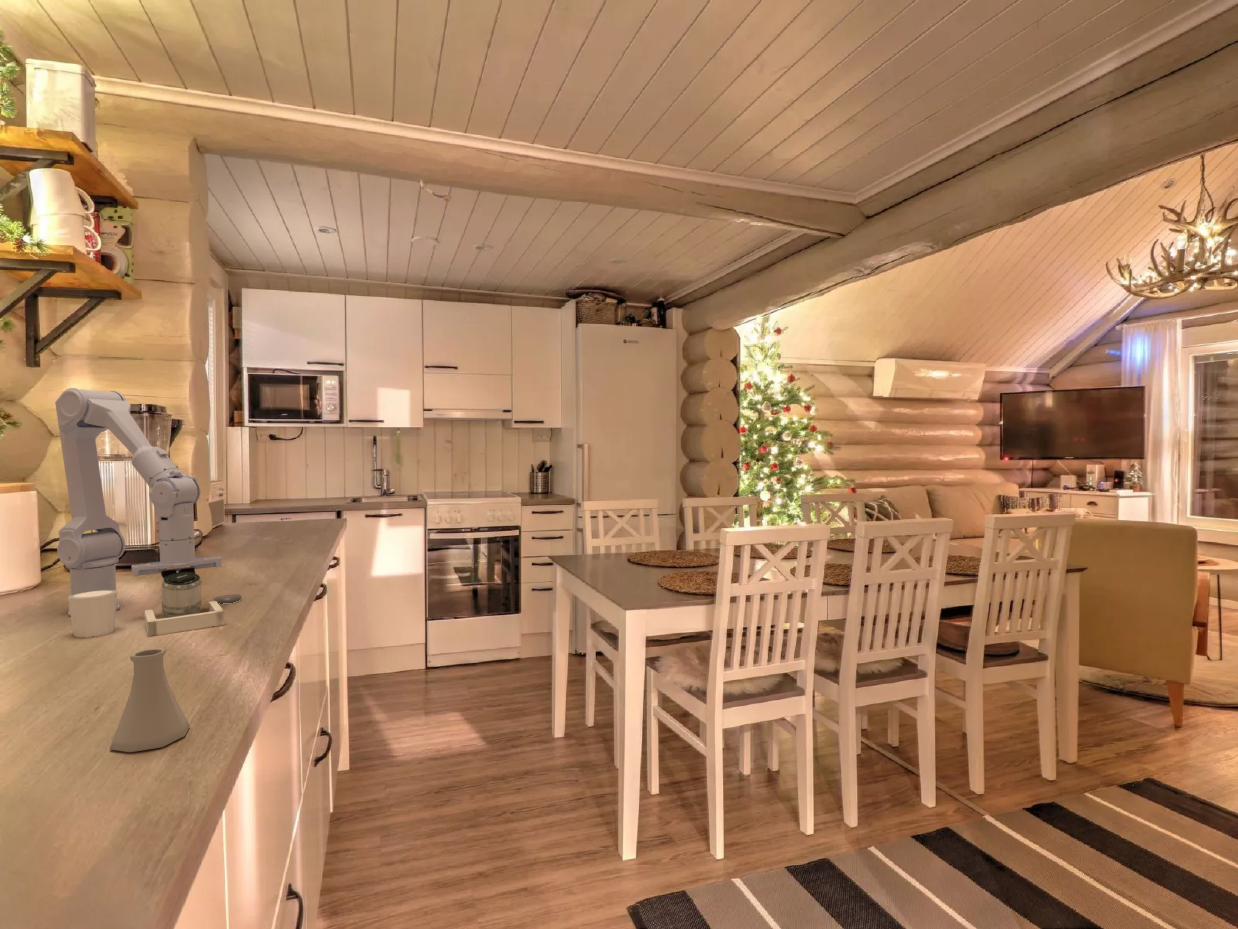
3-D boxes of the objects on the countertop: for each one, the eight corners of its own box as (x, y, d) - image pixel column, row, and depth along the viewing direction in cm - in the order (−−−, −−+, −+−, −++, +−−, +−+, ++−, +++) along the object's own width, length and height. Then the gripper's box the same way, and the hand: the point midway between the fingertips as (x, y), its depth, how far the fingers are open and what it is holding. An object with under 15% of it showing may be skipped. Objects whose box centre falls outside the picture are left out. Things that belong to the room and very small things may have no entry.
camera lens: (208, 613, 128) (209, 576, 127) (176, 625, 123) (176, 586, 121) (186, 603, 131) (187, 566, 129) (153, 614, 125) (153, 576, 123)
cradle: (144, 624, 123) (144, 610, 123) (216, 613, 130) (216, 600, 130) (148, 636, 115) (147, 622, 115) (224, 624, 122) (224, 611, 122)
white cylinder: (91, 639, 113) (89, 598, 113) (58, 637, 115) (57, 597, 114) (128, 628, 120) (127, 589, 120) (97, 626, 121) (95, 588, 121)
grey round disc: (213, 602, 140) (212, 596, 140) (240, 598, 143) (240, 593, 143) (214, 607, 136) (214, 601, 136) (242, 603, 139) (242, 597, 139)
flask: (137, 727, 78) (135, 643, 78) (202, 724, 79) (199, 641, 78) (94, 756, 71) (91, 663, 71) (165, 753, 72) (162, 661, 71)
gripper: (131, 545, 122) (134, 618, 122) (223, 537, 131) (225, 605, 131) (130, 540, 127) (132, 611, 128) (217, 533, 136) (219, 599, 137)
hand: (179, 608), depth 130 cm, fingers closed, pressing on camera lens
